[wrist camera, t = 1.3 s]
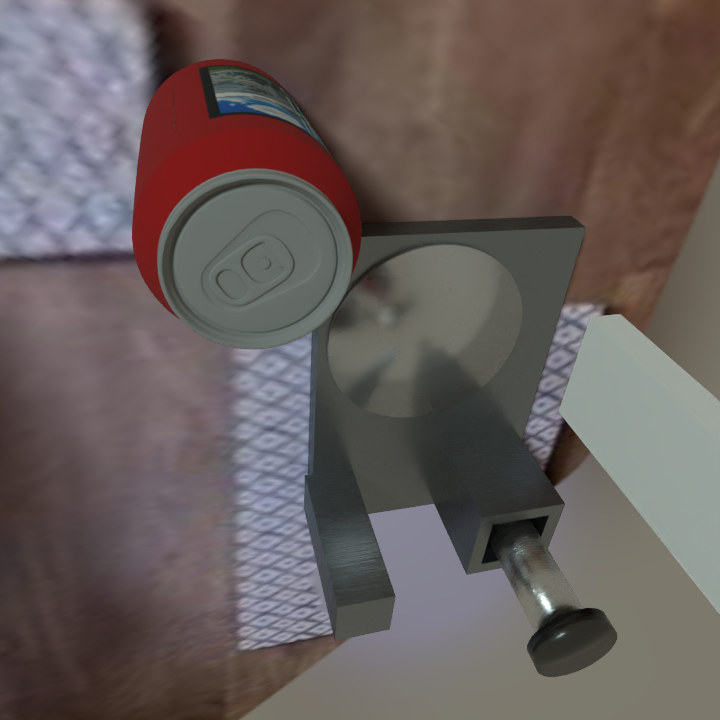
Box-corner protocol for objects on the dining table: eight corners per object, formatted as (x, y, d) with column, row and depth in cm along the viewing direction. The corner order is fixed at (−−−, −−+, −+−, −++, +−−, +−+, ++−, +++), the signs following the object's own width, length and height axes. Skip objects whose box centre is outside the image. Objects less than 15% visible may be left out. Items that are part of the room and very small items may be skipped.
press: (299, 506, 41) (333, 655, 33) (304, 225, 29) (359, 348, 21) (496, 476, 44) (571, 604, 36) (570, 215, 33) (706, 317, 25)
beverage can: (331, 160, 28) (416, 287, 18) (212, 243, 29) (235, 404, 19) (241, 17, 24) (291, 87, 14) (104, 119, 24) (67, 248, 15)
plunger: (461, 542, 38) (527, 684, 31) (473, 494, 36) (548, 637, 29) (524, 531, 39) (602, 665, 32) (540, 484, 37) (628, 619, 30)
